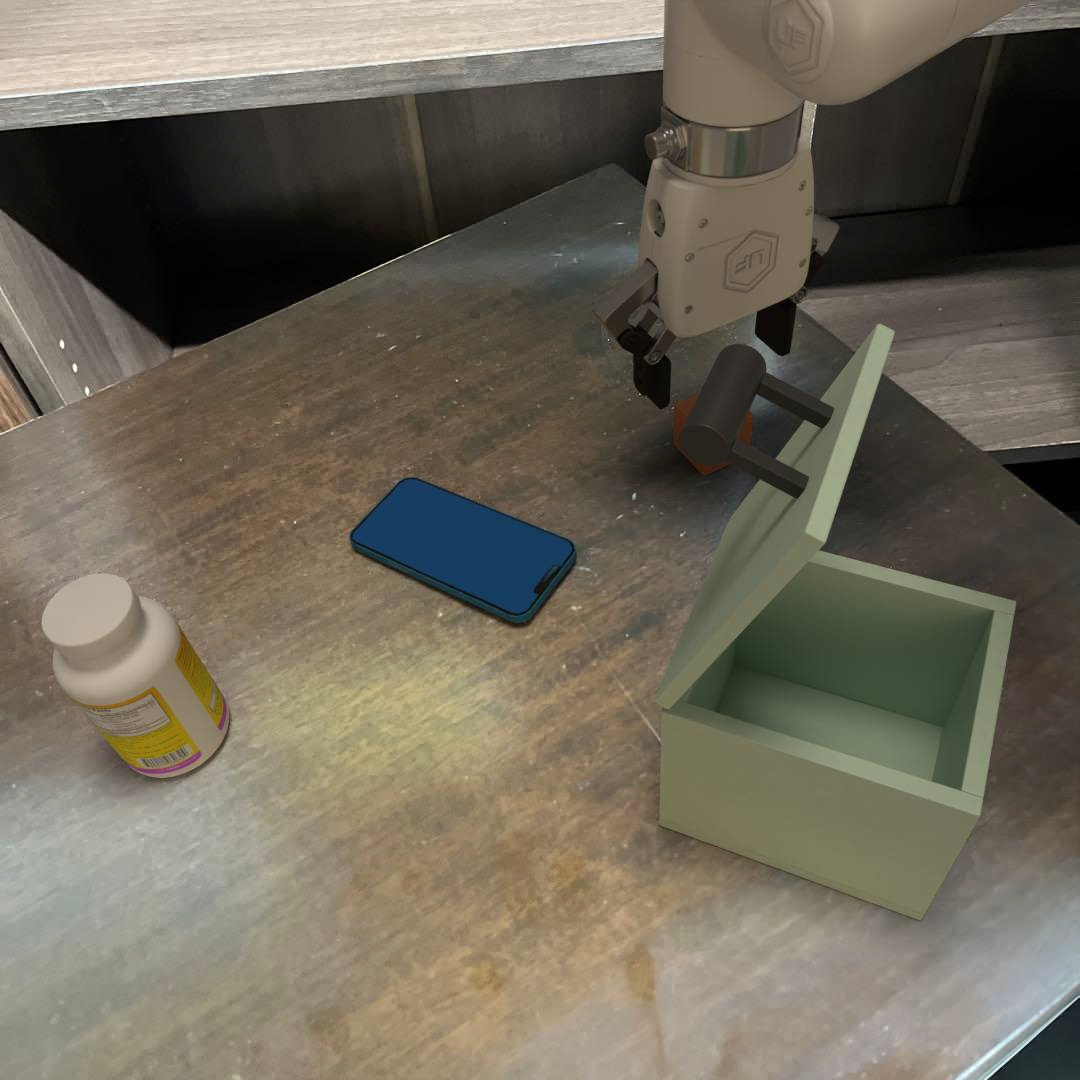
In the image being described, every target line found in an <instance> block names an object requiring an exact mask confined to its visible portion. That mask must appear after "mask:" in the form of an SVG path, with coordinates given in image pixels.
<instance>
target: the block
mask: <svg viewBox="0 0 1080 1080" xmlns="http://www.w3.org/2000/svg"><path fill="white" fill-rule="evenodd" d="M699 393H700V392H699ZM699 393H696V394H694V395H691V396H689V397H687V398H684V399H683V400H679V401H678V402H676V403H674V404H673V405H674V406H673V407H674V408H673V409H674V410H673V443H672V444H673V446H674V447H675V448H676V449H677V450H678V451H679V452H680V453H681V454H682V455H683V456H684V457H685V458H686V459H687V460H688V461H689V462H690V464H691V465H692V466H693V467H694V468H695V469H696V470H697V471H698V472H699V473H700V474H701V476H703V477H705V476H708V475H710V474H713V473H714V472H716V471H718V470H719V471H720V469H723V468H725V467H727V466H729V465H731V464H730V463H728V462H726V461H724V462H723V463H721V464H718V465H713V466H708V465H702V464H699V463H696V462H694V461H693V460H691V459H689V458H688V457H687V456H686V455H685V454H684V453H683V451H682V450H681V448H680V446H679V434H680V432H681V430H682V428H683V426H684V424H685V422H686V420H687V418H688V416H689V414H690V412H691V410H692V408H693V406H694V404H695V402H696V400H697V397H698V395H699ZM754 417H755V416H754V413H753V412H752V411H751V410H749V412H748V415H747V417H746V419H745V421H744V424H743V426H742V428H741V431H740V433H739V435H738V437H737V439H739V440H741V441H742V442H744V443H746V444H748V445H750V446H752V445H751V443H752V435H753V425H754Z"/></svg>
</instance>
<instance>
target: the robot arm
mask: <svg viewBox="0 0 1080 1080" xmlns="http://www.w3.org/2000/svg"><path fill="white" fill-rule="evenodd" d="M1031 1H1032V0H664V2H663V5H664V6H663V8H664V9H663V54H662V55H663V56H662V57H663V58H662V59H663V63H662V106H661V107H660V124H659V125H660V127H658V128H656V130H655V131H653V132H651V133H647V135H645V136H644V141H643V142H644V143H643V145H644V149H645V152H646V155H647V156H648V158H649V159H650V160H652V162H651V166H650V171H649V173H648V174H649V175H648V179H647V184H646V189H645V194H644V199H643V206H642V212H641V221H640V230H639V241H638V242H639V243H638V257H637V269H636V270H635V271H634V272H633V273H632V274H631V275H629V277H627V278H626V280H624V281H623V282H622V283H620V284H619V286H618V287H617V288H615V290H613V291H612V292H611V293H610V294H609V295H608V296H607V297H606V298H604V299H603V300H602V301H601V302H600V303H599V304H598V305H597V306H596V307H595V310H594V315H595V318H597V320H598V321H599V323H600V324H601V325H602V327H603V328H604V330H606V332H607V333H608V335H609V336H610V337H611V338H612V339H613V340H614V341H615V342H616V343H617V345H619V346H620V347H621V348H622V349H623V350H624V351H626V352H629V353H630V354H632V380H633V385H634V387H635V389H636V391H637V392H638V393H639V394H640V395H641V396H643V397H647V398H648V399H649V400H650V401H651V402H652V403H653V405H655V406H656V408H657V409H658V410H659V411H660V410H663V409H666V408H668V407H669V405H670V403H671V385H672V382H671V381H672V380H671V379H672V361H671V359H670V358H669V357H668V356H667V355H666V354H667V352H668V351H669V349H670V348H671V346H672V344H673V343H674V341H675V340H676V338H681V339H687V338H688V339H689V338H693V337H698V336H701V335H704V334H705V333H708V332H712V331H714V330H716V329H718V328H721V327H723V326H725V325H729V324H730V323H732V322H735V321H737V320H740V319H743V318H746V317H748V316H749V315H752V314H753V313H755V322H754V323H755V325H754V335H755V336H756V338H757V339H759V341H761V342H762V343H763V344H764V345H765V346H767V347H768V348H769V349H770V350H772V352H774V353H775V354H776V355H777V356H780V357H785V356H787V355H789V354H790V353H791V351H792V350H791V349H792V344H793V335H794V330H795V328H794V327H795V322H796V317H797V316H796V315H797V309H798V308H797V306H798V305H800V304H801V303H803V302H804V301H805V299H806V298H807V297H808V294H809V290H808V288H807V287H808V285H809V284H810V283H811V281H812V280H813V279H814V278H815V276H816V275H817V274H818V272H819V271H820V270H821V269H822V267H823V266H824V263H825V257H824V255H825V254H827V253H828V251H829V249H830V247H831V245H832V243H833V242H834V240H835V238H836V236H837V234H838V232H839V231H840V225H839V224H838V223H837V222H835V221H834V220H833V219H831V218H830V217H828V216H827V215H825V214H820V213H815V175H814V165H813V157H812V148H811V142H810V139H809V138H808V137H807V136H806V135H805V134H804V133H803V132H802V126H803V119H804V118H803V117H804V110H805V104H806V102H805V101H807V102H810V103H813V104H817V105H821V106H822V105H824V106H839V105H840V106H841V105H846V104H850V103H853V102H857V101H859V100H861V99H864V98H865V97H867V96H870V95H872V94H874V93H876V92H877V91H879V90H880V89H883V88H884V87H886V86H887V85H889V84H890V83H893V82H894V81H896V80H897V79H899V78H902V77H903V76H904V75H906V74H908V73H909V72H911V71H913V70H915V69H916V68H918V67H920V66H921V65H922V64H924V63H926V62H927V61H929V60H930V59H932V58H934V57H936V56H937V55H940V53H942V52H944V51H945V50H948V49H949V48H951V47H952V46H954V45H956V44H958V43H959V42H961V41H962V40H965V39H966V38H968V37H970V36H972V35H974V34H976V33H977V32H980V31H981V30H983V29H985V28H986V27H989V26H990V25H992V24H993V23H995V22H997V21H999V20H1001V18H1004V17H1005V16H1007V15H1009V14H1010V13H1013V12H1014V11H1016V10H1018V9H1019V8H1021V7H1023V6H1024V5H1026V4H1028V3H1030V2H1031ZM641 306H642V307H641ZM639 307H641V308H640V310H639V312H638V313H637V315H636V316H635V317H634V319H633V320H632V322H631V323H629V319H630V316H631V315H632V314H633V313H634V312H635V311H637V309H638V308H639ZM658 319H659V320H660V321H661V322H662V323H661V325H660V327H659V328H658V330H657V331H656V332H655V334H654V335H653V337H652V336H651V334H649V332H650V330H651V329H652V327H653V326H654V325H655V323H656V321H657V320H658Z"/></svg>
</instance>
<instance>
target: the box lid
mask: <svg viewBox="0 0 1080 1080" xmlns="http://www.w3.org/2000/svg"><path fill="white" fill-rule="evenodd" d="M895 334H896V332H895V330H893V329H892V328H890V327H888V326H887V325H884V324H882V323H880V322H879V323H877V324H876V325H875V326H874V328H873V329H872V330H871V332H870V333H869V334H868V336H867V337H866V338H865V340H864V341H862V344H861V345H860V346H859V347H858V349H857V350H856V351H855V353H854V354H853V355H852V357H851V358H850V359H849V360H848V362H847V363H846V364H845V366H844V367H843V368H842V370H841V371H840V373H839V374H838V375H837V377H836V378H835V379H834V380H833V382H832V383H831V385H830V386H829V387H828V389H827V390H826V391H825V393H824V394H823V395H822V396H821V397H820V399H818V398H817V397H814V396H812V395H811V394H809V393H807V392H805V391H803V390H801V389H800V388H797V387H795V386H794V385H792V384H791V383H788V382H786V381H784V380H782V379H781V378H778V377H776V376H775V375H773V374H770V373H769V372H767V363H766V359H765V358H764V356H763V355H762V353H760V351H759V350H757V349H756V348H754V347H752V346H750V345H747V344H744V343H734V344H729V345H727V346H725V347H724V348H722V349H721V350H720V352H719V353H718V354H717V356H716V359H715V361H714V363H713V365H712V367H711V369H710V371H709V373H708V375H707V377H706V379H705V381H704V383H703V385H702V387H701V389H700V392H699V395H698V397H697V400H696V402H695V404H694V406H693V408H692V410H691V412H690V414H689V416H688V418H687V420H686V422H685V424H684V426H683V428H682V430H681V432H680V434H679V446H680V448H681V450H682V451H683V453H684V454H685V455H686V456H687V457H688V458H689V459H691V460H693V461H694V462H696V463H699V464H702V465H708V466H713V465H718V464H721V463H723V462H724V461H726V462H728V463H730V464H729V465H732V466H734V467H735V468H737V469H739V470H741V471H743V472H745V473H747V474H748V475H750V476H753V477H754V478H756V479H757V480H758V481H757V482H756V483H755V485H754V486H753V487H752V489H751V490H750V491H749V492H748V494H747V496H746V497H745V498H744V499H743V501H742V502H741V503H740V505H739V506H738V508H737V509H736V510H735V511H734V512H733V514H732V515H731V516H730V518H729V519H728V522H727V524H726V526H725V529H724V531H723V534H722V536H721V539H720V541H719V543H718V546H717V548H716V551H715V553H714V555H713V558H712V559H711V561H710V562H711V563H710V566H709V567H708V570H707V572H706V575H705V577H704V579H703V581H702V584H701V586H700V588H699V591H698V593H697V595H696V598H695V601H694V604H693V606H692V608H691V611H690V613H689V615H688V618H687V620H686V623H685V625H684V627H683V630H682V632H681V634H680V637H679V638H678V639H679V640H678V642H677V644H676V647H675V649H674V651H673V653H672V656H671V659H670V661H669V663H668V666H667V667H666V671H665V673H664V675H663V678H662V680H661V683H660V685H659V687H658V690H657V692H656V695H655V697H654V699H653V702H654V704H657V705H659V706H660V707H662V708H663V707H664V708H666V709H670V708H671V707H672V706H673V705H674V703H675V702H676V701H677V700H678V699H679V698H680V697H681V696H682V695H683V694H684V693H685V692H686V691H687V690H688V689H689V688H690V686H691V685H692V684H693V683H694V682H695V681H696V680H697V679H698V678H699V677H700V676H701V675H702V674H703V673H704V672H705V670H706V669H707V668H708V667H709V666H710V665H711V664H712V663H713V662H714V661H715V660H716V659H717V658H718V657H719V656H720V655H721V653H722V652H723V651H724V650H725V649H726V648H727V647H728V646H729V645H730V644H731V643H732V642H733V641H734V640H735V639H736V638H737V636H738V635H739V634H740V633H741V632H742V631H743V630H744V629H745V628H746V627H747V626H748V625H749V624H750V623H751V622H752V620H753V619H754V618H755V617H756V616H757V615H758V614H759V613H760V612H761V611H762V610H763V609H764V608H765V607H766V606H767V605H768V603H769V602H770V601H771V600H772V599H773V598H774V597H775V596H776V595H777V594H778V593H779V592H780V591H781V590H782V589H783V588H784V586H785V585H786V584H787V583H788V582H789V581H790V580H791V579H792V578H793V577H794V576H795V575H796V574H797V573H798V572H799V571H800V569H801V568H802V567H803V566H804V565H805V564H806V563H807V562H808V561H809V560H810V559H811V558H812V557H813V556H814V555H815V553H816V552H817V551H818V550H819V551H820V550H821V548H823V546H824V545H825V544H826V543H827V540H828V537H829V535H830V531H831V528H832V525H833V523H834V519H835V516H836V513H837V511H838V507H839V504H840V501H841V498H842V496H843V493H844V489H845V487H846V483H847V480H848V477H849V474H850V471H851V468H852V464H853V462H854V458H855V456H856V452H857V449H858V447H859V443H860V440H861V437H862V434H863V431H864V428H865V426H866V422H867V419H868V417H869V414H870V410H871V407H872V404H873V401H874V398H875V395H876V392H877V390H878V386H879V384H880V380H881V377H882V374H883V371H884V368H885V364H886V361H887V358H888V357H889V356H888V355H889V353H890V350H891V346H892V343H893V341H894V338H895ZM756 396H758V397H760V398H762V399H764V400H766V401H768V402H770V403H772V404H774V405H776V406H777V407H779V408H781V409H783V410H785V411H787V412H789V413H791V414H793V415H795V416H796V417H798V418H800V419H802V420H803V422H802V423H801V424H800V425H799V427H798V428H797V429H796V431H795V432H794V434H793V435H792V436H791V437H790V438H789V440H787V443H786V444H785V445H784V447H782V449H781V450H780V451H779V453H778V454H777V456H776V457H773V456H771V455H769V454H768V453H765V452H764V451H761V450H759V449H757V448H755V447H754V446H752V445H748V444H746V443H744V442H742V441H741V440H739V439H737V437H738V435H739V433H740V431H741V428H742V426H743V424H744V421H745V419H746V417H747V415H748V412H749V411H751V408H752V405H753V403H754V401H755V399H756Z"/></svg>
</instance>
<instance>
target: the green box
mask: <svg viewBox="0 0 1080 1080" xmlns="http://www.w3.org/2000/svg"><path fill="white" fill-rule="evenodd" d="M1016 607H1017V601H1016V600H1013V599H1010V598H1006V597H1002V596H998V595H993V594H990V593H985V592H982V591H978V590H974V589H971V588H966V587H962V586H960V585H959V586H958V585H955V584H951V583H947V582H943V581H939V580H935V579H931V578H928V577H923V576H920V575H916V574H912V573H909V572H904V571H900V570H897V569H893V568H888V567H884V566H881V565H878V564H873V563H869V562H865V561H862V560H858V559H854V558H850V557H847V556H842V555H839V554H835V553H831V552H827V551H823V550H820V549H819V550H818V551H817V552H816V553H815V555H814V556H813V557H812V558H811V559H810V560H809V561H808V562H807V563H806V564H805V565H804V566H803V567H802V568H801V569H800V571H799V572H798V573H797V574H796V575H795V576H794V577H793V578H792V579H791V580H790V581H789V582H788V583H787V584H786V585H785V586H784V588H783V589H782V590H781V591H780V592H779V593H778V594H777V595H776V596H775V597H774V598H773V599H772V600H771V601H770V602H769V603H768V605H767V606H766V607H765V608H764V609H763V610H762V611H761V612H760V613H759V614H758V615H757V616H756V617H755V618H754V619H753V620H752V622H751V623H750V624H749V625H748V626H747V627H746V628H745V629H744V630H743V631H742V632H741V633H740V634H739V635H738V636H737V638H736V639H735V640H734V641H733V642H732V643H731V644H730V645H729V646H728V647H727V648H726V649H725V650H724V651H723V652H722V653H721V655H720V656H719V657H718V658H717V659H716V660H715V661H714V662H713V663H712V664H711V665H710V666H709V667H708V668H707V669H706V670H705V672H704V673H703V674H702V675H701V676H700V677H699V678H698V679H697V680H696V681H695V682H694V683H693V684H692V685H691V686H690V688H689V689H688V690H687V691H686V692H685V693H684V694H683V695H682V696H681V697H680V698H679V699H678V700H677V701H676V702H675V703H674V705H673V706H672V707H671V708H670V709H666V708H664V707H662V708H661V711H660V744H659V745H660V746H659V747H660V752H659V754H660V755H659V804H658V805H659V808H658V809H659V811H658V826H660V827H662V828H665V829H669V830H671V831H673V832H676V833H680V834H681V835H682V834H683V835H684V836H686V837H687V836H688V837H691V838H693V839H696V840H699V841H701V842H704V843H706V844H710V845H713V846H715V847H718V848H721V849H723V850H726V851H729V852H732V853H734V854H737V855H740V856H742V857H745V858H748V859H750V860H753V861H755V862H759V863H761V864H764V865H767V866H769V867H772V868H774V869H778V870H781V871H783V872H786V873H789V874H791V875H794V876H797V877H799V878H802V879H806V880H807V881H810V882H813V883H816V884H819V885H822V886H825V887H826V888H830V889H833V890H835V891H838V892H841V893H844V894H846V895H849V896H851V897H854V898H858V899H859V900H862V901H865V902H868V903H871V904H874V905H876V906H879V907H881V908H884V909H887V910H889V911H893V912H895V913H898V914H901V915H903V916H907V917H909V918H913V919H914V920H917V921H922V919H923V918H924V916H925V914H926V913H927V910H928V909H929V907H930V905H931V904H932V902H933V900H934V898H935V897H936V895H937V893H938V891H939V890H940V888H941V887H942V884H943V883H944V880H945V879H946V877H947V875H948V874H949V872H950V870H951V868H952V867H953V865H954V863H955V861H956V860H957V858H958V856H959V854H960V853H961V851H962V849H963V847H964V846H965V844H966V842H967V840H968V838H970V835H971V833H972V832H973V830H974V828H975V826H976V825H977V823H978V821H979V820H980V817H981V815H982V810H983V804H984V797H985V792H986V787H987V786H986V785H987V781H988V780H987V779H988V775H989V774H988V773H989V769H990V768H989V767H990V762H991V755H992V751H993V750H992V749H993V744H994V738H995V731H996V725H997V720H998V719H997V718H998V714H999V709H1000V702H1001V697H1002V690H1003V685H1004V678H1005V671H1006V667H1007V660H1008V655H1009V649H1010V642H1011V637H1012V630H1013V626H1014V625H1013V624H1014V618H1015V617H1014V616H1015V613H1016Z"/></svg>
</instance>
